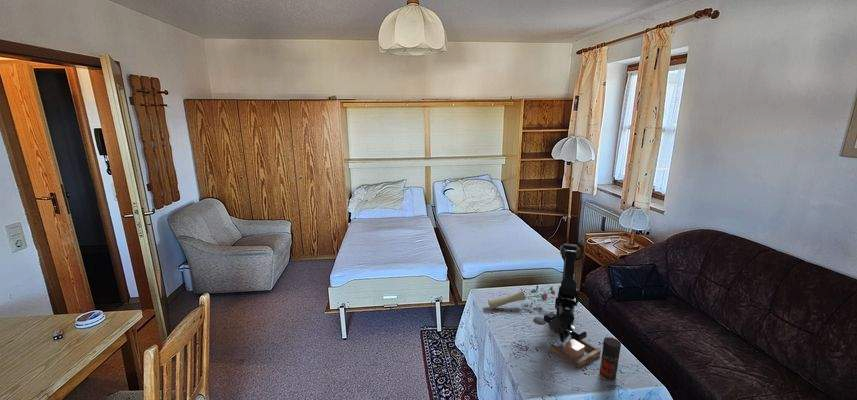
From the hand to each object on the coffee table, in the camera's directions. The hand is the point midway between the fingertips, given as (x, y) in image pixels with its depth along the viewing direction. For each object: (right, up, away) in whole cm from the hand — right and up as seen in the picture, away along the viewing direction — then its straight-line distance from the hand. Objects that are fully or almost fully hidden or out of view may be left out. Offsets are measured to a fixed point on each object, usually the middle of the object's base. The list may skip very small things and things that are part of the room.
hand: (562, 342), depth 161 cm
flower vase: (-11, +7, +30) cm, 33 cm away
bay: (+4, -2, -6) cm, 7 cm away
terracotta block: (+3, -2, -5) cm, 7 cm away
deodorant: (+11, -6, -18) cm, 22 cm away
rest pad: (-5, +4, +18) cm, 19 cm away
